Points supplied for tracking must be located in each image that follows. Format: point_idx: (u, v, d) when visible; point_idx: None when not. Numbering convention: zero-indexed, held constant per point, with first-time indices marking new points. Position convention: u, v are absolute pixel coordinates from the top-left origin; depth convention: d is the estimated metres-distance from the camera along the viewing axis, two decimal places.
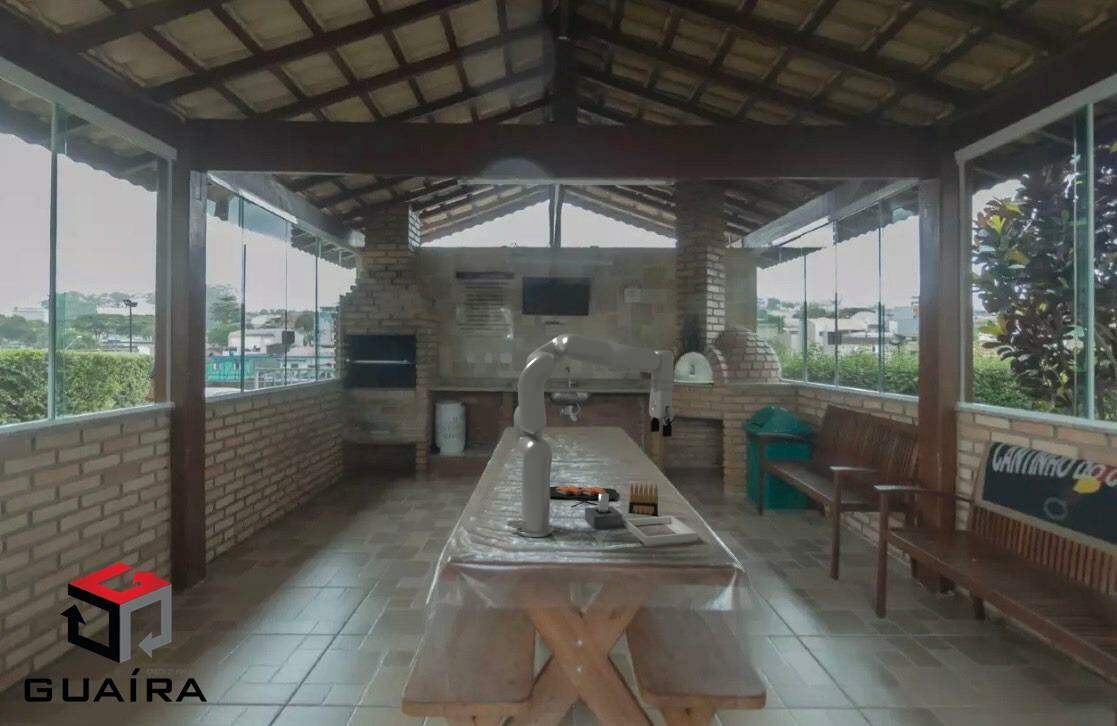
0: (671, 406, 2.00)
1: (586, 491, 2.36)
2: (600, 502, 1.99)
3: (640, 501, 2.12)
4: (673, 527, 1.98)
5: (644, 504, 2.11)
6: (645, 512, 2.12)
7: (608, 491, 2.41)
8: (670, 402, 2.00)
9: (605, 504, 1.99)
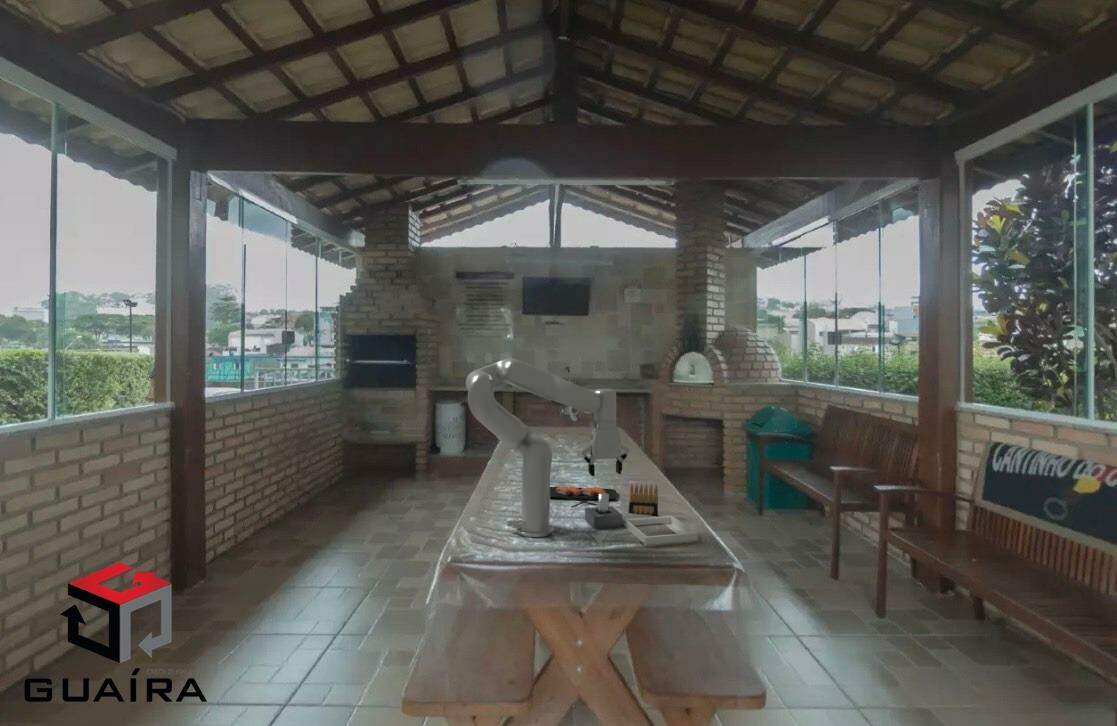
0: None
1: (586, 491, 2.36)
2: (600, 502, 1.99)
3: (640, 501, 2.12)
4: (673, 527, 1.98)
5: (644, 504, 2.11)
6: (645, 512, 2.12)
7: (608, 491, 2.41)
8: None
9: (605, 504, 1.99)
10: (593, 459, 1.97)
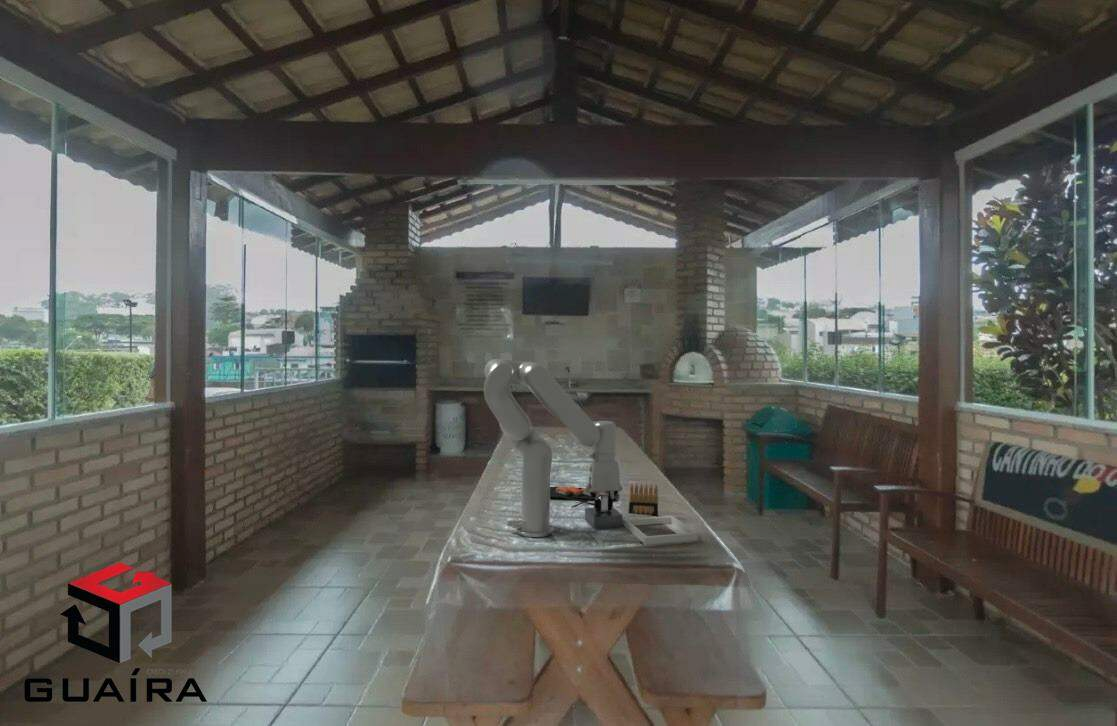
0: None
1: None
2: (600, 502, 1.99)
3: (640, 501, 2.12)
4: (673, 527, 1.98)
5: (644, 504, 2.11)
6: (645, 512, 2.12)
7: None
8: None
9: (605, 504, 1.99)
10: (597, 494, 1.98)
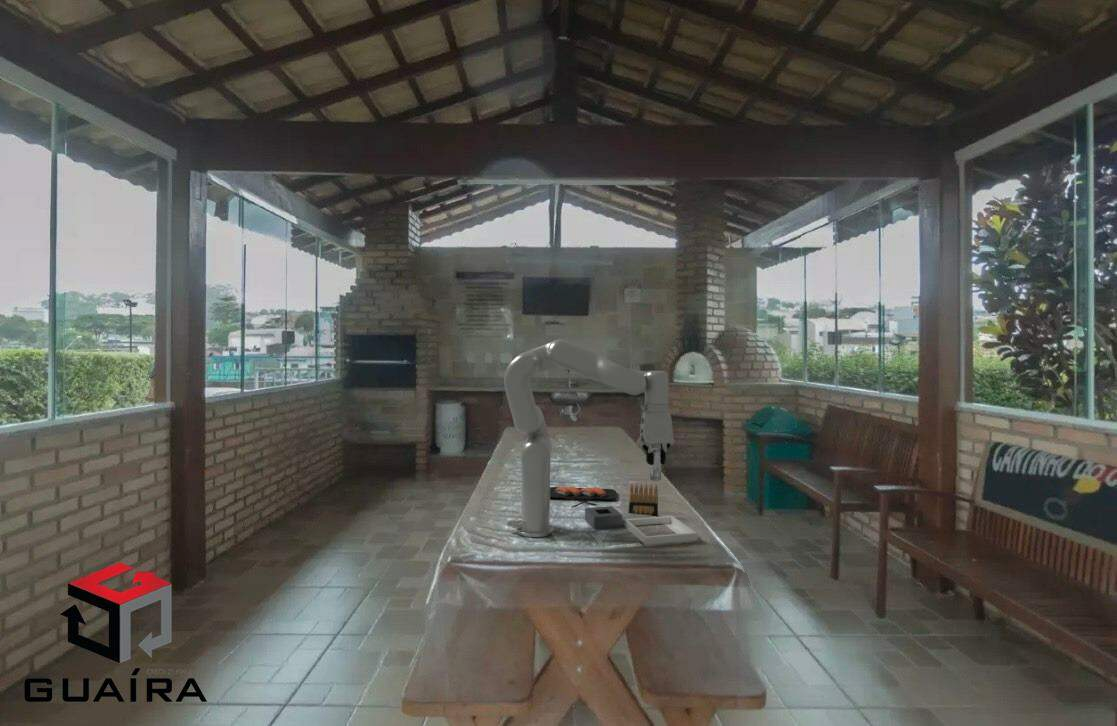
0: None
1: (586, 491, 2.35)
2: None
3: (640, 501, 2.12)
4: (673, 527, 1.98)
5: (644, 504, 2.11)
6: (645, 512, 2.12)
7: (607, 491, 2.41)
8: None
9: (658, 459, 1.90)
10: (650, 447, 1.90)
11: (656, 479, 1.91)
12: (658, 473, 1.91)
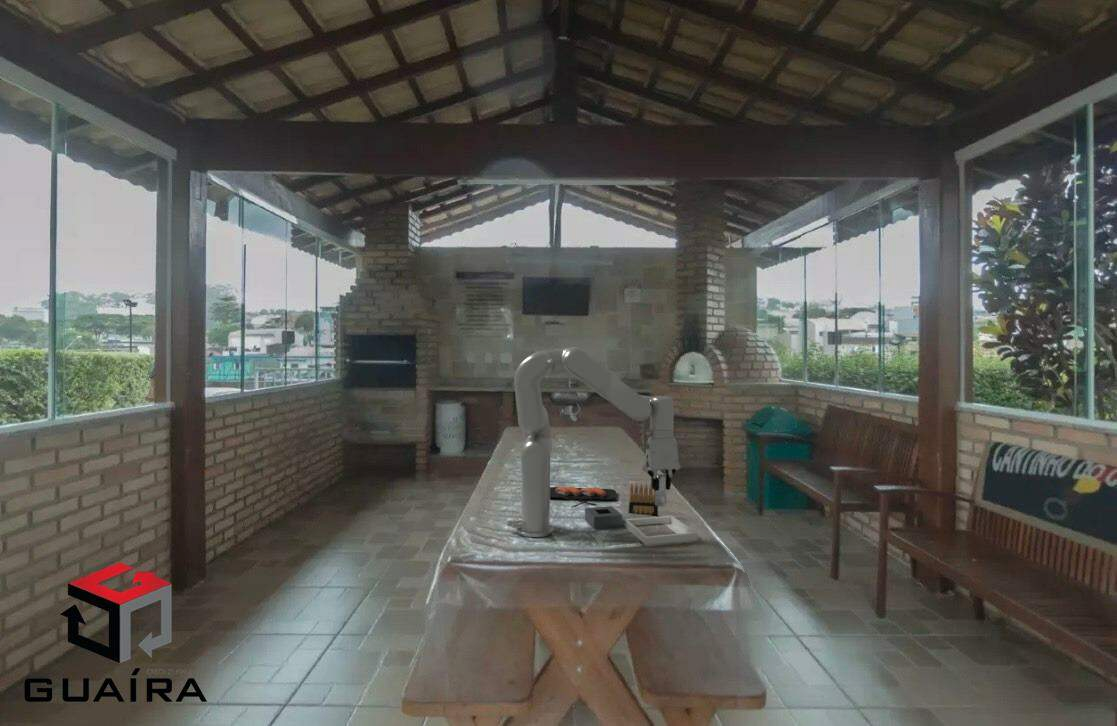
0: None
1: (585, 492, 2.35)
2: (658, 483, 1.90)
3: (640, 501, 2.12)
4: (673, 527, 1.98)
5: (644, 504, 2.11)
6: (645, 512, 2.12)
7: (607, 491, 2.41)
8: None
9: (663, 485, 1.90)
10: (655, 472, 1.89)
11: (661, 505, 1.90)
12: (663, 498, 1.90)
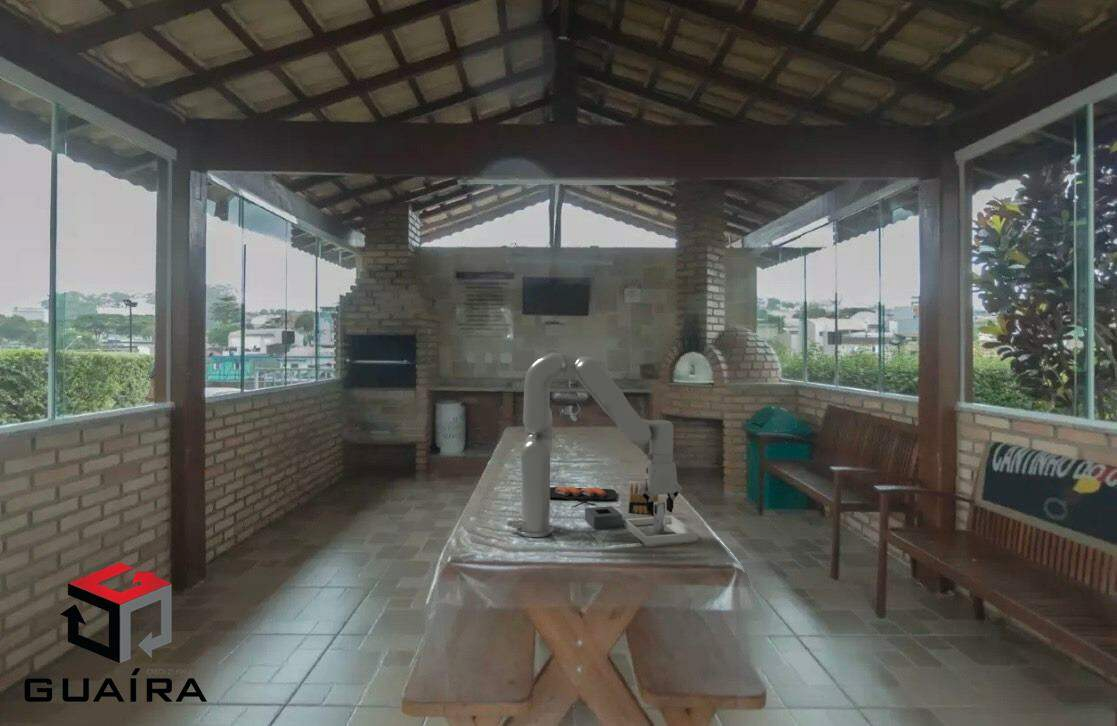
0: None
1: (585, 492, 2.35)
2: (656, 511, 1.91)
3: (640, 501, 2.12)
4: (673, 527, 1.98)
5: (644, 504, 2.11)
6: (645, 512, 2.12)
7: (607, 492, 2.41)
8: None
9: (661, 513, 1.90)
10: (651, 496, 1.89)
11: (659, 533, 1.91)
12: (661, 527, 1.91)
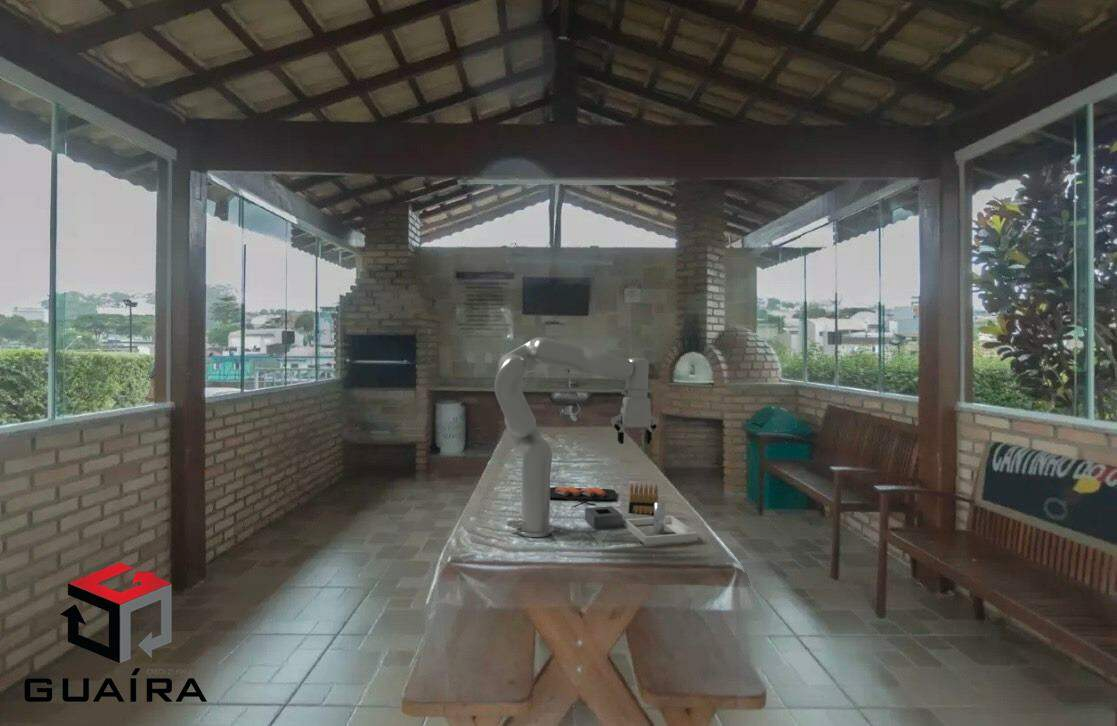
0: None
1: (585, 492, 2.35)
2: (656, 511, 1.91)
3: (640, 501, 2.12)
4: (673, 527, 1.98)
5: (644, 504, 2.11)
6: (645, 512, 2.12)
7: (607, 492, 2.41)
8: None
9: (661, 513, 1.90)
10: (623, 427, 1.98)
11: (659, 533, 1.91)
12: (661, 527, 1.91)
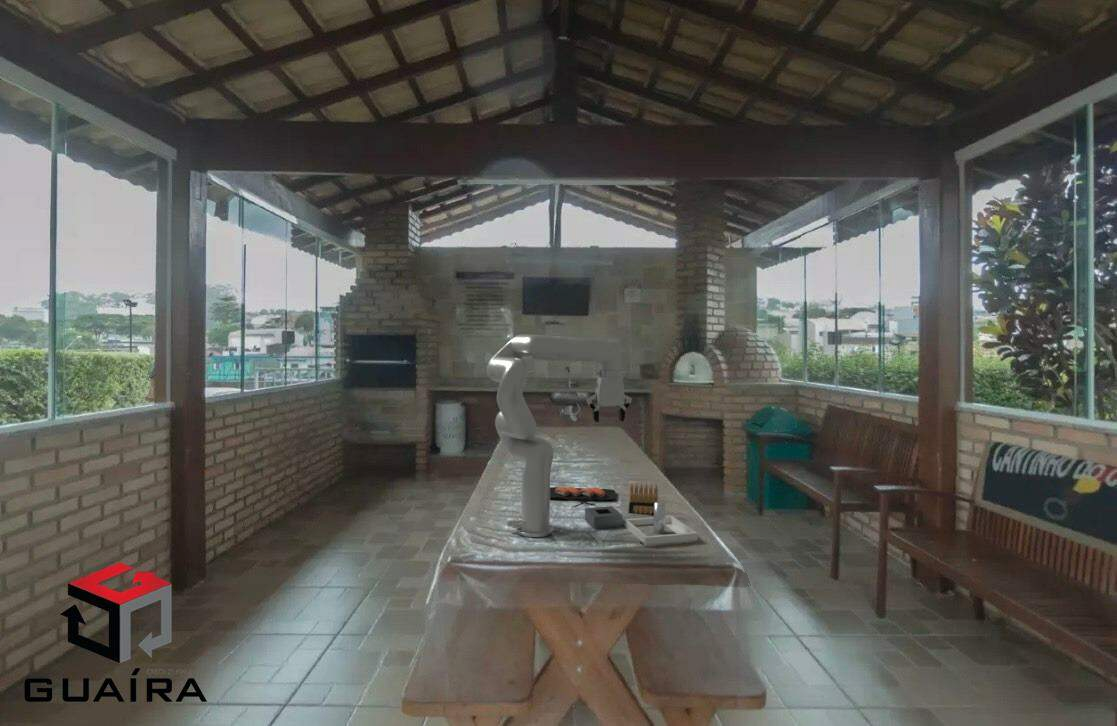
0: None
1: (585, 492, 2.35)
2: (656, 511, 1.91)
3: (640, 501, 2.12)
4: (673, 527, 1.98)
5: (644, 504, 2.11)
6: (645, 512, 2.12)
7: (607, 492, 2.41)
8: None
9: (661, 513, 1.90)
10: (598, 406, 2.09)
11: (659, 533, 1.91)
12: (661, 527, 1.91)
